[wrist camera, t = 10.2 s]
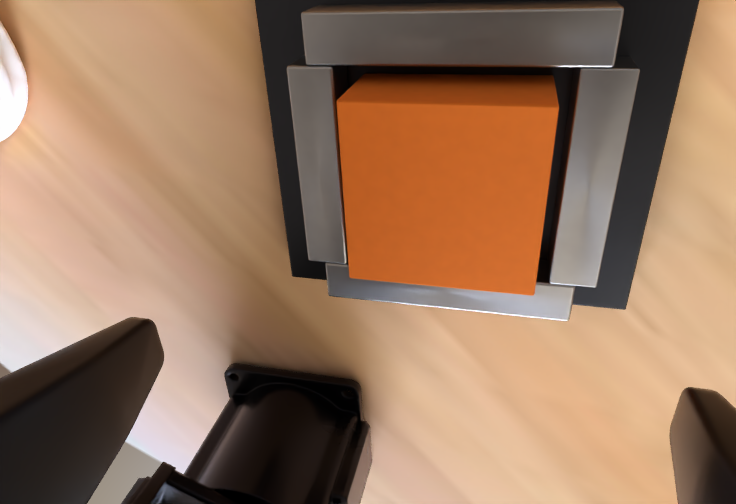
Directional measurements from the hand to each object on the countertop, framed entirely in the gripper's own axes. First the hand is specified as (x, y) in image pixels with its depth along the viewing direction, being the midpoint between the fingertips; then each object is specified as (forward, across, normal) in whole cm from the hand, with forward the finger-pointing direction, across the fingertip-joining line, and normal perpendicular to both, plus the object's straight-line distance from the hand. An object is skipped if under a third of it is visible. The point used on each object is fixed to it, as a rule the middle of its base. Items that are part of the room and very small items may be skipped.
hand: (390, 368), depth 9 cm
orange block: (+10, 0, 0) cm, 10 cm away
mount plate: (+11, 0, 0) cm, 11 cm away
